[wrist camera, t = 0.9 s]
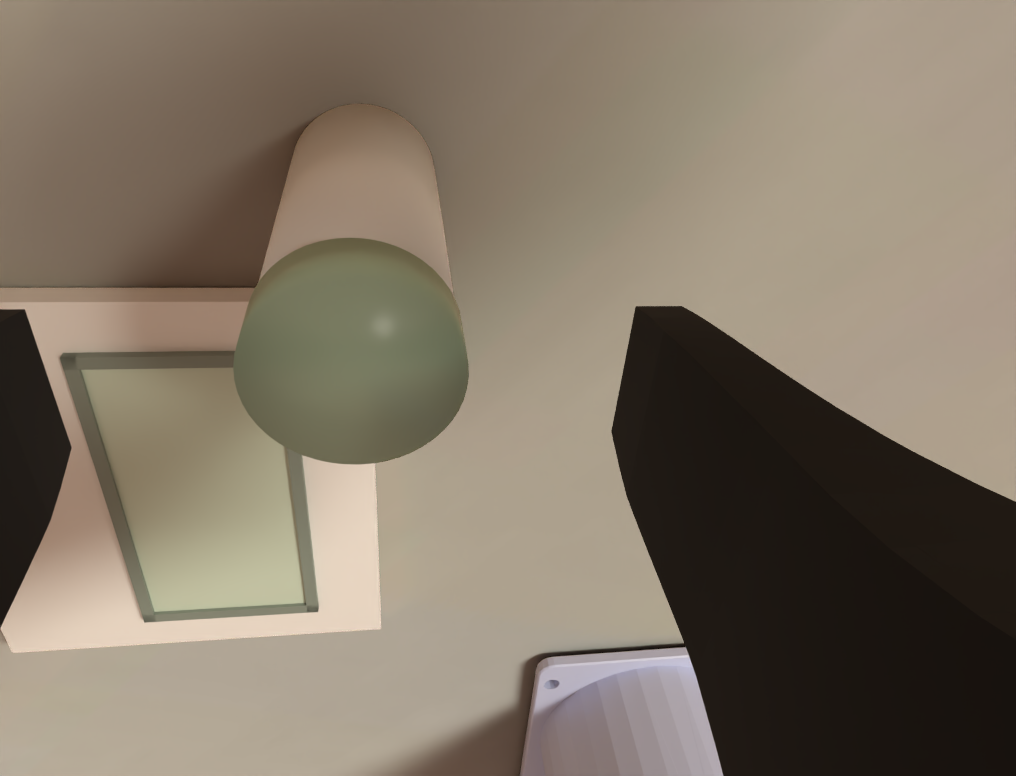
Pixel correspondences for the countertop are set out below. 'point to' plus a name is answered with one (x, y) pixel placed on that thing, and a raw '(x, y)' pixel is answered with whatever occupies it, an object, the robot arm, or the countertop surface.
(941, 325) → the countertop surface
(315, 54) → the countertop surface
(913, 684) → the robot arm
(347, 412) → the green and white capsule
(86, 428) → the board
